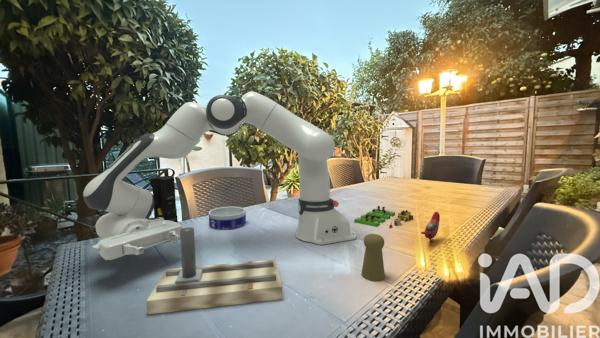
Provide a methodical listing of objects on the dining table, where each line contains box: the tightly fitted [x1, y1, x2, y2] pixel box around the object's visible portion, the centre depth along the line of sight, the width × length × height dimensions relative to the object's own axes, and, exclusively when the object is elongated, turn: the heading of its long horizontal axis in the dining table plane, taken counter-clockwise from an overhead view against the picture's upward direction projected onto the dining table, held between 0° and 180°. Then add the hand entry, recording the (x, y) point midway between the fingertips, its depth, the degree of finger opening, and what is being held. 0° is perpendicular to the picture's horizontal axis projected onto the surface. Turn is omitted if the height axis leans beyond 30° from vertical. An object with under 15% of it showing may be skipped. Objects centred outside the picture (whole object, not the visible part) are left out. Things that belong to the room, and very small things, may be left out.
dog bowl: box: [208, 206, 247, 231], centre depth 115 cm, size 15×15×6 cm
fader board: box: [145, 259, 283, 315], centre depth 65 cm, size 28×14×4 cm, turn 101°
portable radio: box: [149, 169, 179, 223], centre depth 97 cm, size 8×6×25 cm
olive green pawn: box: [360, 233, 386, 282], centre depth 71 cm, size 6×6×11 cm
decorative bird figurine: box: [420, 211, 441, 244], centre depth 93 cm, size 3×18×10 cm, turn 137°
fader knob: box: [175, 227, 202, 284], centre depth 63 cm, size 5×5×12 cm
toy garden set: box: [353, 205, 414, 229], centre depth 120 cm, size 23×19×5 cm
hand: (159, 244), depth 69 cm, fingers open, 8 cm apart
